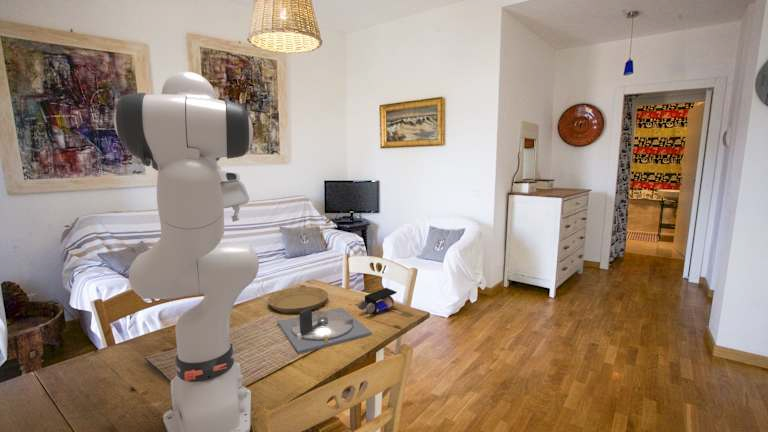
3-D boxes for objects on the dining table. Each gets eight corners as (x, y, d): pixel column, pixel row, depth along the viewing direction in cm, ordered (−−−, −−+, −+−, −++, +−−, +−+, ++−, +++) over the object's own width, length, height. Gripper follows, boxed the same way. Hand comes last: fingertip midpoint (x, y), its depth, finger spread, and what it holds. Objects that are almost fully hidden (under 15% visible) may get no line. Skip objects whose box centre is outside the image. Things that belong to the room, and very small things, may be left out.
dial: (319, 309, 143) (318, 288, 142) (364, 321, 133) (364, 298, 132) (278, 331, 125) (277, 306, 124) (327, 345, 115) (326, 319, 114)
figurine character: (370, 323, 137) (398, 307, 147) (368, 304, 136) (396, 289, 146) (358, 318, 142) (386, 303, 152) (356, 299, 140) (384, 285, 151)
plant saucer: (276, 321, 137) (276, 312, 137) (262, 300, 158) (261, 293, 157) (337, 307, 149) (337, 299, 149) (316, 290, 170) (316, 283, 169)
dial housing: (371, 334, 125) (371, 326, 124) (298, 354, 112) (297, 344, 112) (341, 309, 146) (341, 302, 146) (277, 323, 134) (277, 315, 133)
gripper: (172, 184, 103) (186, 232, 104) (244, 173, 116) (256, 215, 117) (167, 188, 108) (181, 234, 109) (237, 177, 121) (248, 218, 122)
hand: (220, 224), depth 113 cm, fingers open, 8 cm apart
